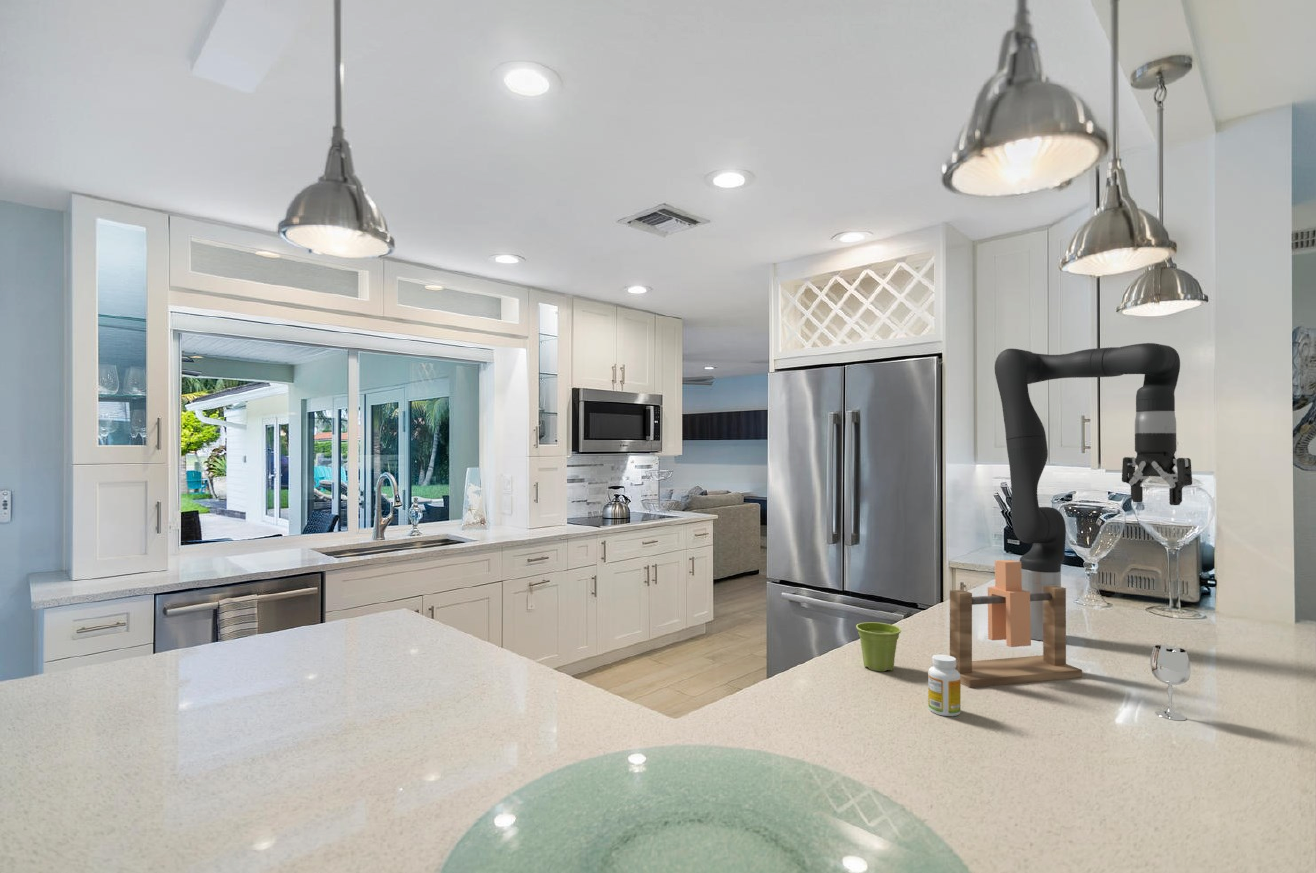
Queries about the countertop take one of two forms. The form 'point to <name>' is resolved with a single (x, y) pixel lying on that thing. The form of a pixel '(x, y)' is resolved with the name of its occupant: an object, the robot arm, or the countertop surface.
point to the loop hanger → (1009, 606)
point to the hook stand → (1011, 668)
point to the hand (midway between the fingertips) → (1155, 503)
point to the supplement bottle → (944, 686)
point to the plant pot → (878, 644)
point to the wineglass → (1170, 673)
